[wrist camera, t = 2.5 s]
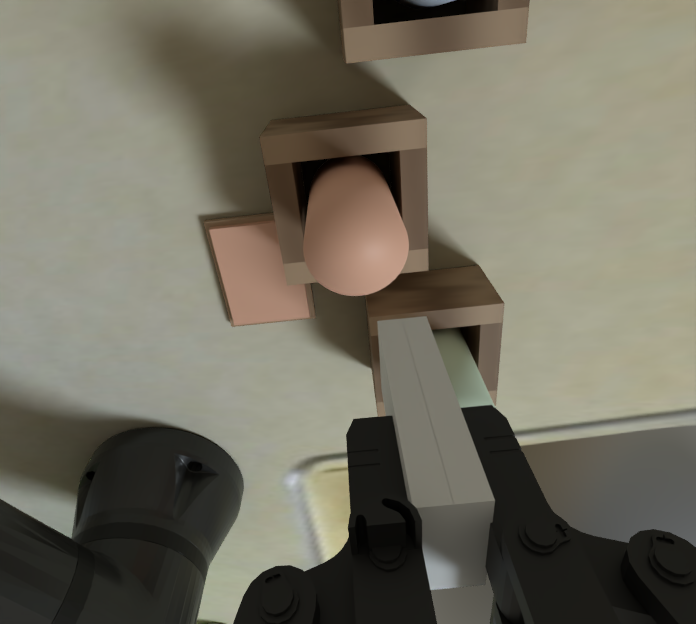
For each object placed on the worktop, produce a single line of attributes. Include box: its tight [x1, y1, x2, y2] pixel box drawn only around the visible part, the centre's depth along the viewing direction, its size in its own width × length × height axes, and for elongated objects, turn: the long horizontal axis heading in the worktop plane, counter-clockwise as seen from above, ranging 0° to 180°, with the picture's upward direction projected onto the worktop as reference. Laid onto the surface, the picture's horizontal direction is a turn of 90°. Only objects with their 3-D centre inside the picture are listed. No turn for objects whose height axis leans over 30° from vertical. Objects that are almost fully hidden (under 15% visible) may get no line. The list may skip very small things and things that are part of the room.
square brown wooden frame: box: [365, 265, 504, 417], centre depth 36 cm, size 9×9×6 cm
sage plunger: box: [432, 327, 495, 408], centre depth 32 cm, size 5×5×9 cm
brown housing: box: [259, 105, 429, 286], centre depth 30 cm, size 9×9×6 cm
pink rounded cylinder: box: [303, 155, 409, 296], centre depth 26 cm, size 5×5×9 cm
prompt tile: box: [204, 213, 316, 327], centre depth 35 cm, size 7×9×1 cm
